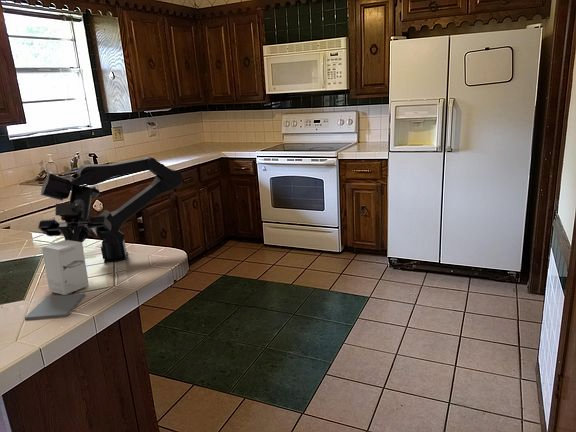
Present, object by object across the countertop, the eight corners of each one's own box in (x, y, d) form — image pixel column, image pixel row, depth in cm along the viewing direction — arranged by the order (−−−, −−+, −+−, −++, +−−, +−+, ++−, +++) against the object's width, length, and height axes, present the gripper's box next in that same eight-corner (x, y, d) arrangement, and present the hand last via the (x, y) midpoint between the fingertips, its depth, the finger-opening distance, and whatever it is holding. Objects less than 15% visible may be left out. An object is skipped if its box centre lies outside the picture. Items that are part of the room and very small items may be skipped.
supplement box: (65, 296, 115) (56, 249, 112) (48, 291, 119) (40, 246, 116) (90, 286, 121) (83, 241, 118) (73, 281, 125) (66, 238, 122)
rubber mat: (47, 298, 116) (46, 296, 116) (85, 295, 116) (85, 293, 116) (25, 319, 105) (24, 317, 105) (67, 316, 105) (66, 313, 105)
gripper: (33, 192, 123) (20, 243, 116) (99, 187, 123) (91, 238, 116) (53, 211, 133) (43, 259, 126) (115, 207, 133) (108, 254, 125)
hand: (70, 253), depth 123 cm, fingers closed
